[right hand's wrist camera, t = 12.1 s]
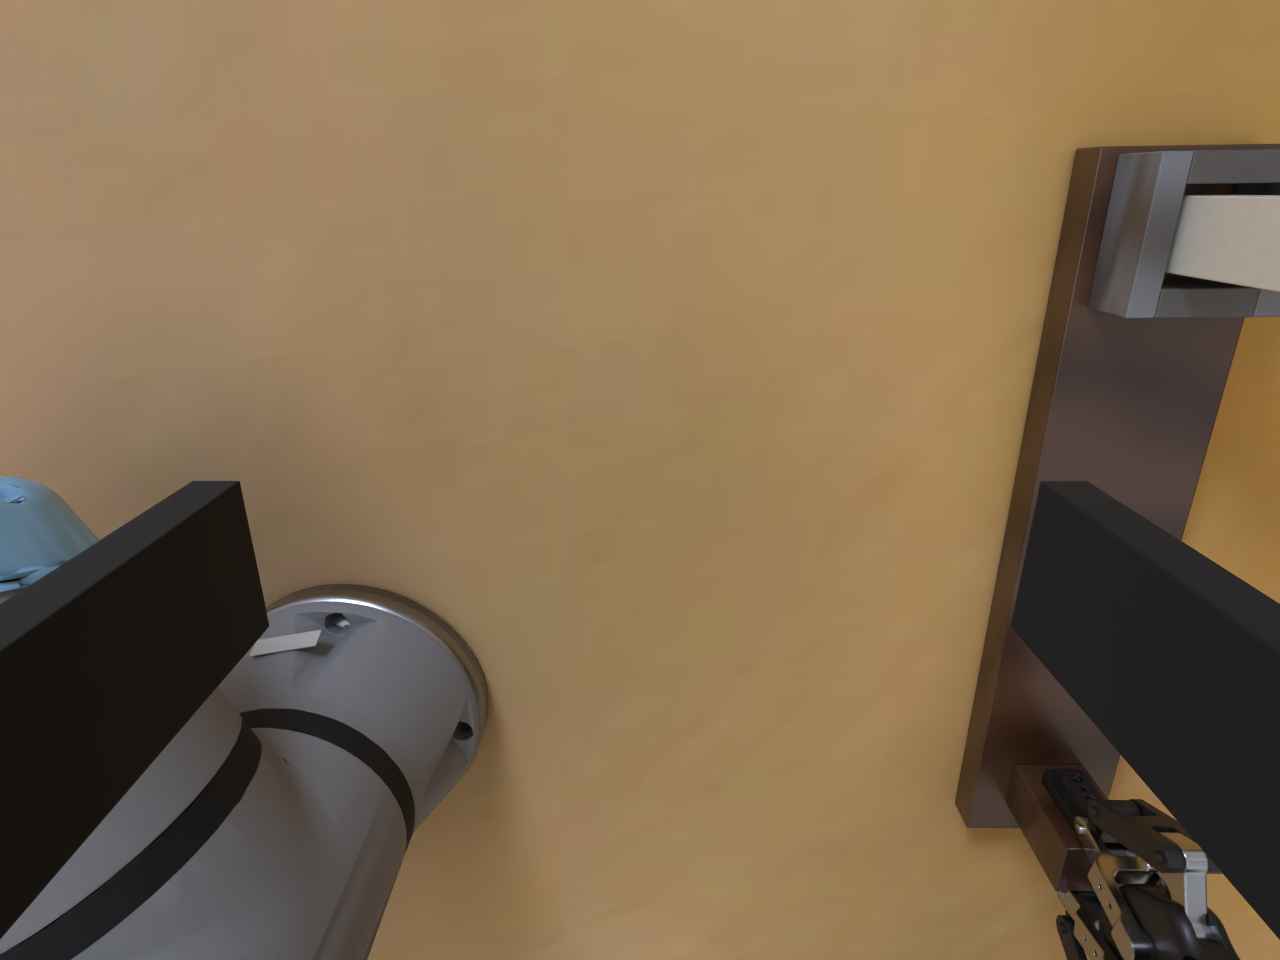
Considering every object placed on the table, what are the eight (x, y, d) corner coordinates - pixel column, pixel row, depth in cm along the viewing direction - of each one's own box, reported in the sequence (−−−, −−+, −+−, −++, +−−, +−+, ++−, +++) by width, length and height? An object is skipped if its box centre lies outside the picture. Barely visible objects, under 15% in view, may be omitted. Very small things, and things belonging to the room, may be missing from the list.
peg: (1199, 266, 33) (1412, 298, 24) (1131, 266, 33) (1316, 298, 24) (1218, 194, 32) (1449, 198, 23) (1147, 194, 32) (1348, 198, 23)
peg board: (1082, 803, 47) (1162, 920, 40) (954, 802, 47) (1010, 918, 40) (1258, 145, 33) (1433, 134, 26) (1076, 148, 33) (1196, 138, 26)
